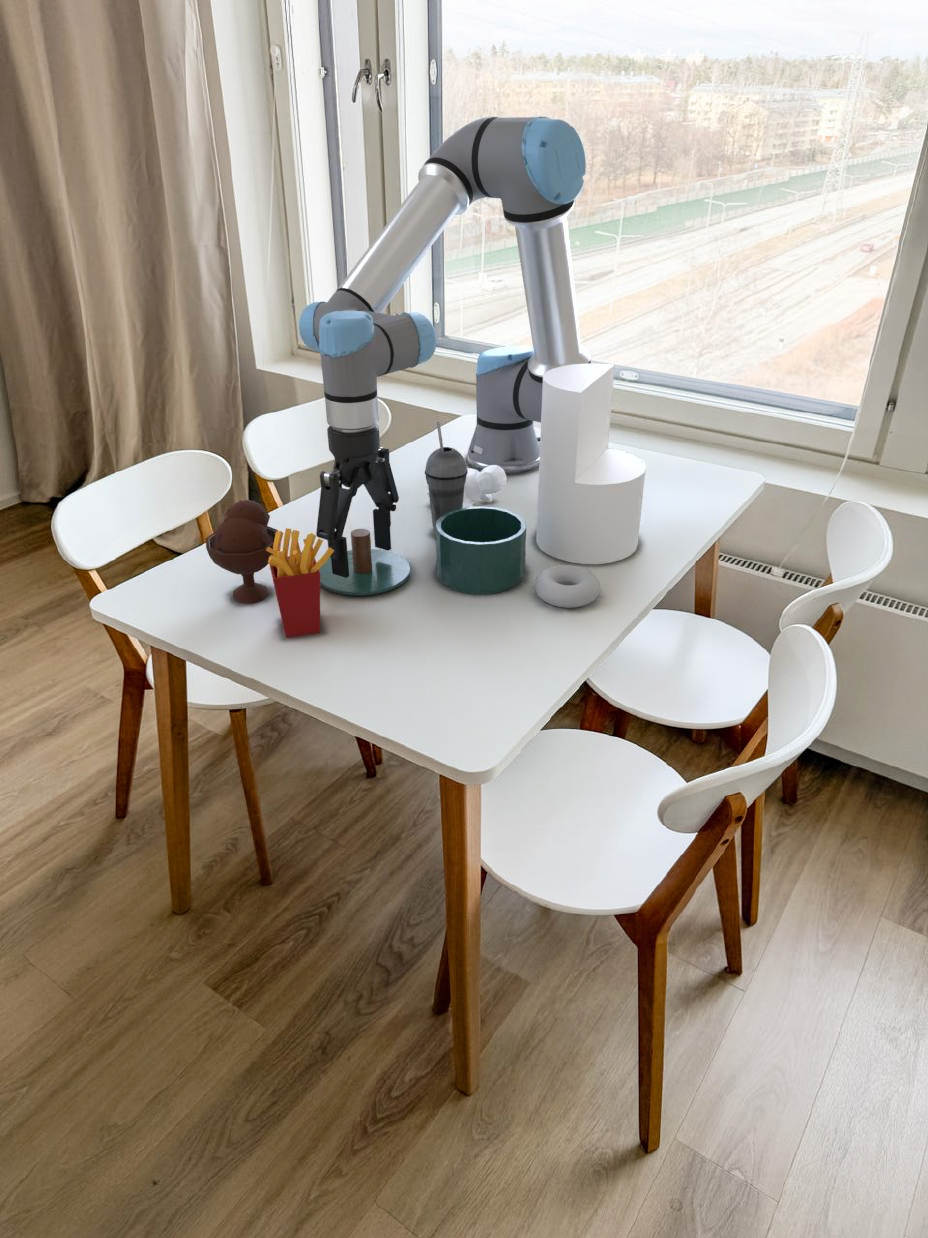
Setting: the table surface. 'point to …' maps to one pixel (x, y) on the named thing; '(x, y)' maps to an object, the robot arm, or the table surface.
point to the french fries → (297, 582)
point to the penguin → (482, 484)
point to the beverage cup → (445, 480)
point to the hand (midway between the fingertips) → (362, 561)
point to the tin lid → (366, 569)
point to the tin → (480, 549)
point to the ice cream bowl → (243, 547)
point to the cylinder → (585, 471)
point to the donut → (567, 586)
